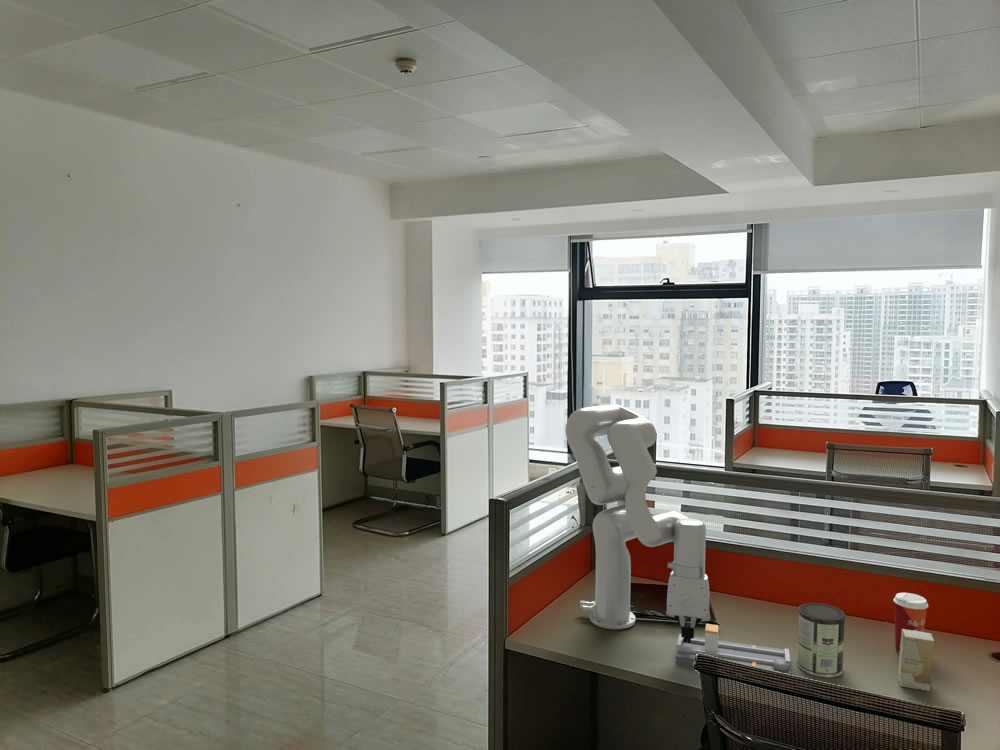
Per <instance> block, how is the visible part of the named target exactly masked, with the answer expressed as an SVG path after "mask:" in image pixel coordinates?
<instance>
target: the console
mask: <svg viewBox="0 0 1000 750" xmlns="http://www.w3.org/2000/svg"><path fill="white" fill-rule="evenodd" d="M698 653H702V654H707V655H711V656H714V657H718V658H721V659H726V660H730V661H735V662H740V663H744V664H749V665H752V666H757V667H760V668H765V669H770V670H774V671H779V672H782V673H788V674H790V675H791V655H790V649H789V648H787V647H786V648H777V647H776V648H775V647H769V646H761V645H754V644H748V643H741V642H733V641H726V640H719V639H718V652H717V653H716V652H709V651H705V637H700V636H694V639H692V638H691V642H690V643H688V642H684V637H681V633H679V635H678V640H677V645H676V654H675V664H676V665H681V666H687V667H688V666H689V667H693V662H694V659H695V656H696V654H698Z"/></svg>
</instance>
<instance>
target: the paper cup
mask: <svg viewBox="0 0 1000 750" xmlns="http://www.w3.org/2000/svg"><path fill="white" fill-rule="evenodd" d="M893 602H894V636H895V637H894V638H895V639H894V642H895V647H894V648H895V650H896V651H897V653H899V654H900V644H901V632H902V629H906V630H913V631H919V632H925V624H926V618H927V609H928V608H929V604H928V601H927V599H926V598H925V597H923V596H921V595H919V594H916V593H910V592H898V593H896V594H895V596H894V598H893Z"/></svg>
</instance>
